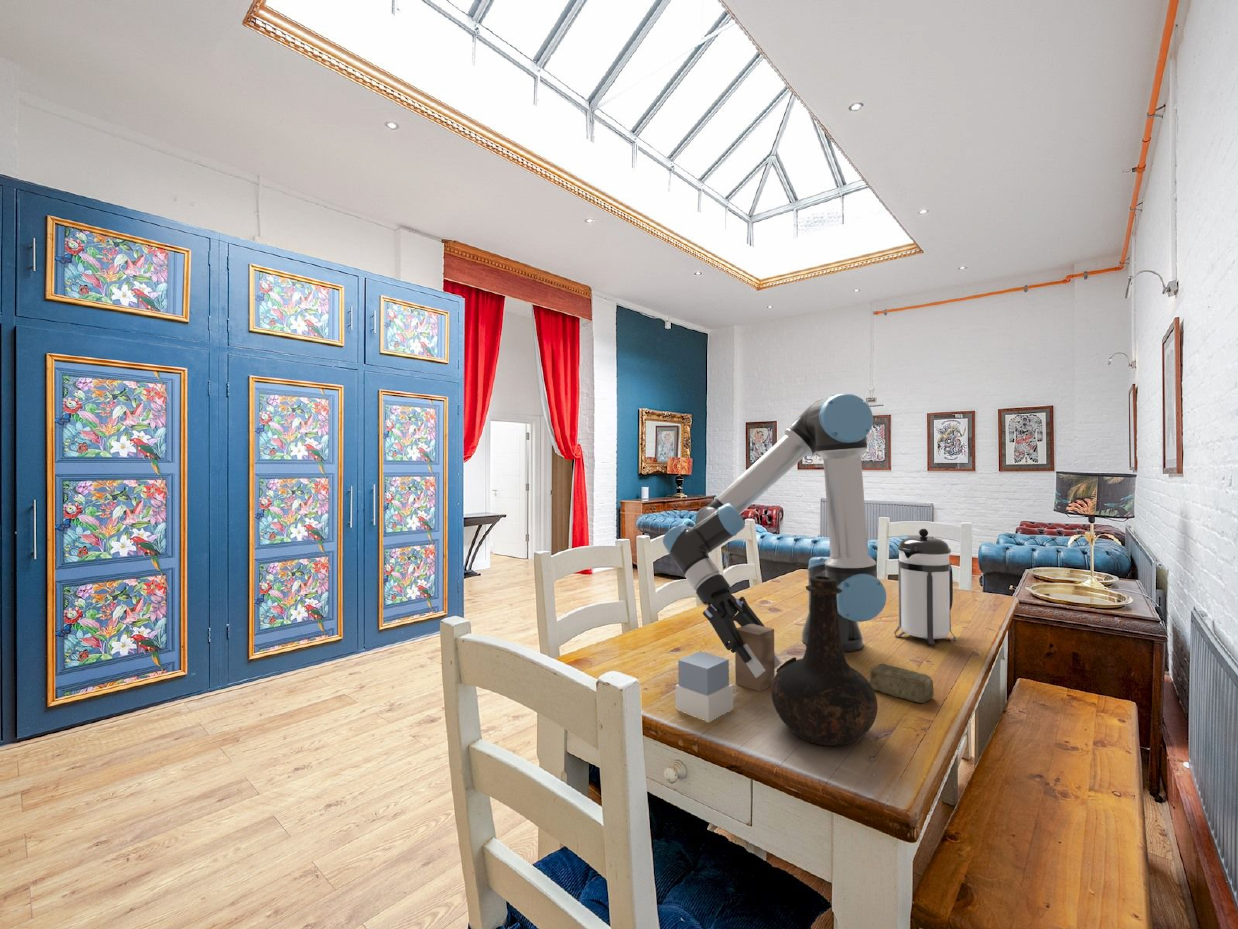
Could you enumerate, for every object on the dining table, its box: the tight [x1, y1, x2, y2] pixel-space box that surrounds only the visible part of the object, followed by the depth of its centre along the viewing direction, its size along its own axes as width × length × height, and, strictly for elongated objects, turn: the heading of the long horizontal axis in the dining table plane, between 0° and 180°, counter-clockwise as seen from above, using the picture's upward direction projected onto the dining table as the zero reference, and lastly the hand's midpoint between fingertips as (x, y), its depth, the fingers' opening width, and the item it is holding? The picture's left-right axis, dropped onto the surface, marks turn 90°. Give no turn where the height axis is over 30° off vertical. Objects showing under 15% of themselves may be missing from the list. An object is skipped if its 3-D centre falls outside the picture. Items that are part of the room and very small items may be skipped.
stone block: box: [868, 663, 935, 704], centre depth 117 cm, size 6×12×5 cm, turn 43°
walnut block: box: [734, 624, 776, 692], centre depth 123 cm, size 6×6×12 cm
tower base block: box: [674, 683, 734, 723], centre depth 111 cm, size 8×8×5 cm
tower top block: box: [677, 651, 730, 695], centre depth 111 cm, size 7×7×5 cm
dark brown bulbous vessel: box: [770, 576, 878, 747], centre depth 100 cm, size 18×18×28 cm
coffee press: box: [893, 528, 956, 647], centre depth 155 cm, size 17×16×30 cm
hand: (769, 670), depth 121 cm, fingers closed on walnut block, 6 cm apart
